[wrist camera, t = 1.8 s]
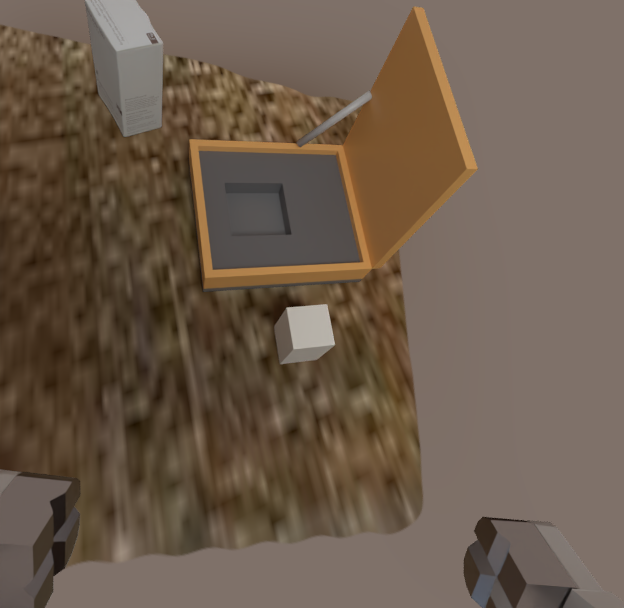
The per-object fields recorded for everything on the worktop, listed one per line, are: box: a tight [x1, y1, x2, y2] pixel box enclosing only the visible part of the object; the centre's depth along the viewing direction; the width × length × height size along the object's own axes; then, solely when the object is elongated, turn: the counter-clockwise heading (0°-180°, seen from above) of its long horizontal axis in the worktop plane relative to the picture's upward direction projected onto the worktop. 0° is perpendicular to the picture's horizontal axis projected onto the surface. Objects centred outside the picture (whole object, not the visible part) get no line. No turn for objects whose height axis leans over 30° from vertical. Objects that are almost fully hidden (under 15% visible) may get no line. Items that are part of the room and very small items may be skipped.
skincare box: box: [85, 0, 163, 137], centre depth 58 cm, size 8×6×15 cm
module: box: [274, 304, 335, 364], centre depth 56 cm, size 5×5×8 cm
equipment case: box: [189, 7, 478, 292], centre depth 53 cm, size 23×20×26 cm
